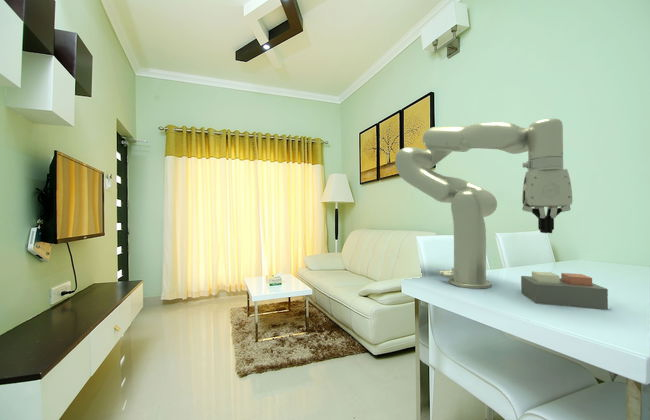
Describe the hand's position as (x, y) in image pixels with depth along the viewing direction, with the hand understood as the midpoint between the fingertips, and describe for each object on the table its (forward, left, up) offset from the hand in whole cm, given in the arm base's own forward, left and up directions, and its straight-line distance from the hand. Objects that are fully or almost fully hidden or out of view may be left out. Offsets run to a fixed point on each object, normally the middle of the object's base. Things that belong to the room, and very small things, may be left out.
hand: (546, 232), depth 76 cm
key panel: (+3, 0, -18) cm, 19 cm away
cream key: (0, 0, -14) cm, 14 cm away
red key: (+7, 0, -14) cm, 16 cm away
